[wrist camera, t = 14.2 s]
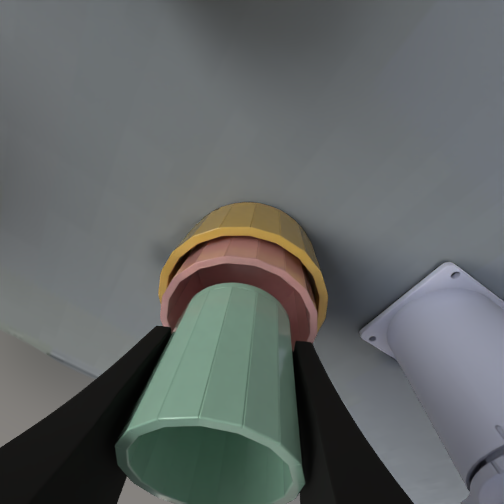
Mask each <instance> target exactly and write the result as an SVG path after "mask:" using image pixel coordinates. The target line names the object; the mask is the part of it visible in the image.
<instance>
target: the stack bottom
mask: <svg viewBox="0 0 504 504" xmlns="http://www.w3.org/2000/svg"><path fill="white" fill-rule="evenodd" d="M220 236H253V237H256V238H260V239H263V240H266V241H270V242H273V243H276V244H278V245H280V246H281V247H283V248H284V249H286V250H287V251H289V252H290V253H292V254H293V255H295V256H296V257H298V258H299V259H300V261H301V262H302V263H303V264H304V266H305V267H306V269H307V273H308V277H309V281H310V285H311V289H312V293H313V297H314V301H315V305H316V309H317V333H318V331H319V329H320V327H321V326H322V324H323V322H324V320H325V318H326V312H327V303H328V293H327V289H326V286H325V282H324V279H323V275H322V272H321V269H320V267H319V264H318V261H317V258H316V255H315V252H314V249H313V247H312V244H311V241H310V240H309V238H308V236H307V234H306V233H305V231H304V230H303V229H302V227H301V226H300V225H299V224H298V223H297V222H296V221H295V220H294V219H293V218H291V217H290V216H289V215H287V214H286V213H284V212H282V211H281V210H279V209H276V208H274V207H272V206H268V205H265V204H260V203H253V202H242V203H234V204H230V205H226V206H223V207H221V208H218V209H216V210H214V211H213V212H211V213H209V214H208V215H207V216H205V217H204V218H203V219H202V220H201V221H200V222H199V223H198V224H196V225H195V226H194V228H193V229H192V230H191V231H190V232H189V233H188V235H187V236H186V237H185V238H184V239H183V240H182V242H181V243H180V244H179V245H178V246H177V247H176V248H175V250H174V251H173V252H172V253H171V255H170V257H169V259H168V260H167V262H166V264H165V266H164V267H163V269H162V271H161V275H160V283H159V292H158V294H159V299H160V303H161V302H162V296H163V294H164V292H165V291H166V289H167V287H168V286H169V284H170V282H171V281H172V279H173V278H174V276H175V275H176V273H177V272H178V270H179V269H180V268H181V266H182V265H183V263H184V262H185V260H186V259H187V258H188V256H189V255H190V253H191V252H192V250H193V249H194V248H195V246H196V245H197V244H199V243H202V242H205V241H208V240H211V239H214V238H217V237H220Z"/></svg>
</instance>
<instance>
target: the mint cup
mask: <svg viewBox="0 0 504 504" xmlns="http://www.w3.org/2000/svg"><path fill="white" fill-rule="evenodd" d="M293 352H294V351H293V341H292V333H291V326H290V320H289V316H288V314H287V312H286V310H285V309H284V307H283V306H282V304H281V303H280V302H279V301H278V300H277V299H276V298H275V297H273V296H272V295H271V294H269V293H268V292H266V291H264V290H262V289H260V288H258V287H255V286H252V285H248V284H243V283H232V282H230V283H220V284H216V285H212V286H209V287H207V288H205V289H203V290H201V291H200V292H198V293H197V294H196V295H195V296H194V297H193V298H192V299H191V300H190V301H189V303H188V305H187V306H186V308H185V310H184V311H183V313H182V315H181V316H180V318H179V320H178V322H177V324H176V326H175V328H174V330H173V332H172V334H171V336H170V338H169V340H168V342H167V344H166V346H165V348H164V350H163V352H162V354H161V356H160V358H159V360H158V362H157V363H156V365H155V367H154V369H153V371H152V373H151V375H150V377H149V379H148V381H147V383H146V385H145V387H144V389H143V391H142V393H141V395H140V397H139V399H138V401H137V403H136V405H135V407H134V409H133V410H132V412H131V414H130V416H129V418H128V420H127V422H126V424H125V426H124V428H123V430H122V432H121V434H120V436H119V438H118V440H117V442H116V444H115V452H116V460H117V464H118V466H119V467H120V468H121V470H122V471H123V472H124V473H125V474H126V475H127V477H128V478H129V479H130V480H131V481H132V482H133V483H134V484H136V485H138V486H139V487H141V488H143V489H144V490H146V491H147V492H149V493H151V494H152V495H154V496H156V497H158V498H161V499H163V500H166V501H169V502H171V503H174V504H287V503H289V502H291V501H293V500H294V499H296V497H297V496H298V494H299V493H300V491H301V490H302V488H303V487H304V485H305V482H306V479H305V468H304V458H303V447H302V436H301V426H300V415H299V404H298V394H297V383H296V374H295V363H294V353H293Z"/></svg>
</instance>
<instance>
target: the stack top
mask: <svg viewBox="0 0 504 504" xmlns="http://www.w3.org/2000/svg"><path fill="white" fill-rule="evenodd" d="M230 282H232V283H243V284H248V285H252V286H255V287H258V288H260V289H262V290H264V291H266V292H268V293H269V294H271V295H272V296H273V297H275V298H276V299H277V300H278V301H279V302H280V303H281V304H282V306H283V307H284V309H285V310H286V312H287V314H288V316H289V320H290V326H291V333H292V341H293V351H294V347H295V342H296V341H306V342H311V343H312V344H313V342H314V340H315V338H316V336H317V309H316V305H315V301H314V297H313V293H312V289H311V285H310V281H309V277H308V273H307V269H306V267H305V266H304V264H303V263H302V262H301V261H300V259H299V258H298V257H296V256H295V255H293V254H292V253H290V252H289V251H287V250H286V249H284V248H283V247H281V246H280V245H278V244H276V243H273V242H270V241H266V240H263V239H260V238H256V237H253V236H220V237H217V238H214V239H211V240H208V241H205V242H202V243H199V244H197V245H196V246H195V248H194V249H193V250H192V252H191V253H190V255H189V256H188V258H187V259H186V260H185V262H184V263H183V265H182V266H181V268H180V269H179V270H178V272H177V273H176V275H175V276H174V278H173V279H172V281H171V282H170V284H169V286H168V287H167V289H166V291H165V292H164V294H163V296H162V302H161V315H160V319H161V322H162V324H163V326H164V327H171V333H172V332H173V330H174V328H175V326H176V324H177V322H178V320H179V318H180V316H181V315H182V313H183V311H184V310H185V308H186V306H187V305H188V303H189V301H190V300H191V299H192V298H193V297H194V296H195V295H196V294H197V293H198V292H200V291H201V290H203V289H205V288H207V287H209V286H212V285H216V284H220V283H230Z"/></svg>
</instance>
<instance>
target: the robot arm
mask: <svg viewBox="0 0 504 504" xmlns="http://www.w3.org/2000/svg"><path fill="white" fill-rule="evenodd" d="M454 272H456V273H455V274H454V275H452V273H454ZM171 334H172V333H171V327H164V326H156V327H155V328H153V329H152V330H151V331H150V332H149V333H148V334H147V335H146V336H145V337H144V338H143V339H141V340H140V341H139V342H138V343H137V344H136V345H135V346H134V347H133V348H132V349H131V350H129V351H128V352H127V353H126V354H125V355H124V356H123V357H122V358H120V359H119V360H118V361H117V362H116V363H115V364H114V365H112V366H111V367H110V368H109V369H108V370H107V371H105V372H104V373H103V374H102V375H100V376H99V377H98V378H97V379H96V380H94V381H93V382H92V383H91V384H90V385H88V386H87V387H86V388H85V389H83V390H82V391H81V392H79V393H78V394H77V395H76V396H74V397H73V398H72V399H70V400H69V401H68V402H66V403H65V404H64V405H62V406H61V407H60V408H58V409H57V410H55V411H54V412H53V413H51V414H50V415H48V416H47V417H46V418H44V419H43V420H41V421H40V422H38V423H37V424H35V425H34V426H32V427H31V428H29V429H28V430H26V431H25V432H23V433H22V434H21V435H19V436H17V437H16V438H14V439H13V440H11V441H10V442H8V443H7V444H5V445H4V446H2V447H1V448H0V504H117V502H118V499H119V496H120V493H121V491H122V488H123V485H124V483H125V480H126V477H127V475H126V474H125V473H124V472H123V471H122V470H121V468H120V467H119V466H118V464H117V460H116V452H115V444H116V442H117V440H118V438H119V436H120V434H121V432H122V430H123V428H124V426H125V424H126V422H127V420H128V418H129V416H130V414H131V412H132V410H133V409H134V407H135V405H136V403H137V401H138V399H139V397H140V395H141V393H142V391H143V389H144V387H145V385H146V383H147V381H148V379H149V377H150V375H151V373H152V371H153V369H154V367H155V365H156V363H157V362H158V360H159V358H160V356H161V354H162V352H163V350H164V348H165V346H166V344H167V342H168V340H169V338H170V336H171ZM359 334H360V336H361V338H362V339H363V340H365V341H366V342H368V343H370V344H371V345H373V346H375V347H376V348H378V349H379V350H381V351H383V352H384V353H386V354H388V355H389V356H391V357H393V358H394V359H396V360H397V361H398V363H399V365H400V367H401V368H402V370H403V372H404V374H405V376H406V378H407V379H408V381H409V383H410V385H411V387H412V388H413V390H414V392H415V394H416V396H417V398H418V399H419V401H420V403H421V405H422V407H423V408H424V410H425V412H426V414H427V416H428V418H429V419H430V421H431V423H432V425H433V427H434V429H435V430H436V432H437V434H438V436H439V438H440V439H441V441H442V443H443V445H444V447H445V449H446V450H447V452H448V454H449V456H450V458H451V459H452V461H453V463H454V465H455V467H456V469H457V470H458V472H459V474H460V476H461V478H462V479H463V481H464V483H465V485H466V487H467V489H468V490H469V491H470V494H469V496H468V497H467V498H466V499H465V500H463V501H462V502H461V504H504V301H503V300H501V299H500V298H499V297H497V296H496V295H495V294H493V293H492V292H491V291H489V290H488V289H487V288H486V287H484V286H483V285H482V284H480V283H479V282H478V281H476V280H475V279H474V278H472V277H471V276H470V275H469V274H467V273H466V272H465V271H463V270H462V269H461V268H459V267H458V266H457V265H455V264H454V263H452V262H446V263H443V264H442V265H440V266H439V267H438V268H437V269H435V270H434V271H433V272H432V273H430V274H429V275H428V276H427V277H425V278H424V279H423V280H422V281H420V282H419V283H418V284H417V285H415V286H414V287H413V288H412V289H411V290H409V291H408V292H407V293H406V294H404V295H403V296H402V297H401V298H399V299H398V300H397V301H396V302H394V303H393V304H392V305H391V306H389V307H388V308H387V309H386V310H385V311H383V312H382V313H381V314H380V315H378V316H377V317H376V318H375V319H373V320H372V321H371V322H370V323H368V324H367V325H366V326H365V327H363V328H362V329H361V330H360V332H359ZM371 336H373V337H371ZM293 353H294V363H295V374H296V383H297V394H298V404H299V415H300V426H301V436H302V447H303V458H304V468H305V479H306V482H305V485H304V487H303V488H302V490H301V491H300V504H414V503H413V502H412V500H411V499H410V498H409V497H408V495H407V494H406V493H405V492H404V490H403V489H402V488H401V487H400V485H399V484H398V483H397V481H396V480H395V479H394V477H393V476H392V475H391V473H390V472H389V471H388V469H387V468H386V467H385V465H384V464H383V462H382V461H381V460H380V458H379V457H378V456H377V454H376V453H375V451H374V450H373V448H372V447H371V446H370V444H369V443H368V441H367V440H366V438H365V437H364V435H363V434H362V432H361V431H360V429H359V428H358V426H357V425H356V423H355V421H354V420H353V418H352V417H351V415H350V413H349V412H348V410H347V408H346V407H345V405H344V403H343V402H342V400H341V398H340V397H339V395H338V393H337V391H336V390H335V388H334V386H333V384H332V382H331V381H330V379H329V377H328V375H327V373H326V371H325V369H324V367H323V365H322V363H321V361H320V359H319V357H318V355H317V353H316V351H315V348H314V346H313V344H312V343H311V342H306V341H296V342H295V347H294V352H293Z"/></svg>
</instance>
